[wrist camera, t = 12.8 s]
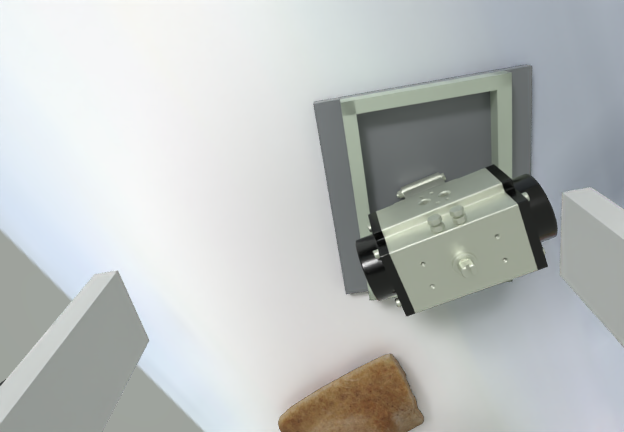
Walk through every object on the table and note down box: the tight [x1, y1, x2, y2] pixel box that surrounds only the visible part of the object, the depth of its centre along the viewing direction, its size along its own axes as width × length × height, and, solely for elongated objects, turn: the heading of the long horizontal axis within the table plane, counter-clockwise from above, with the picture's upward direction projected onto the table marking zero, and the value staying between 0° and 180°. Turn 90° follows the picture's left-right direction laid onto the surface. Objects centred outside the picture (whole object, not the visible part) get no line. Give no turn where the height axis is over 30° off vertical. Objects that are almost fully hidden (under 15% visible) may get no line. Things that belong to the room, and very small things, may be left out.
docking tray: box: [314, 65, 532, 300], centre depth 36 cm, size 17×16×2 cm
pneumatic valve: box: [355, 164, 558, 316], centre depth 31 cm, size 6×12×12 cm, turn 115°
